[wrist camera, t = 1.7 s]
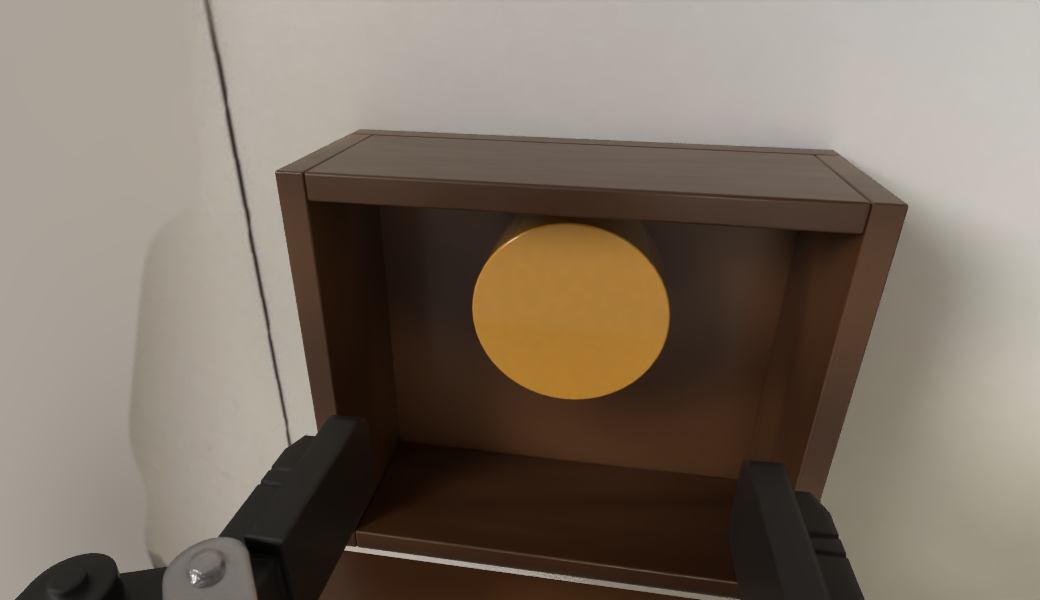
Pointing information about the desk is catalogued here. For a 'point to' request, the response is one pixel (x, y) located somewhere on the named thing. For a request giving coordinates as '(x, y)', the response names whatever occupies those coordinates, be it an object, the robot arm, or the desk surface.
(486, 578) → the lid
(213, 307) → the desk surface
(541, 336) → the golden round puck
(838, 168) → the wooden box
